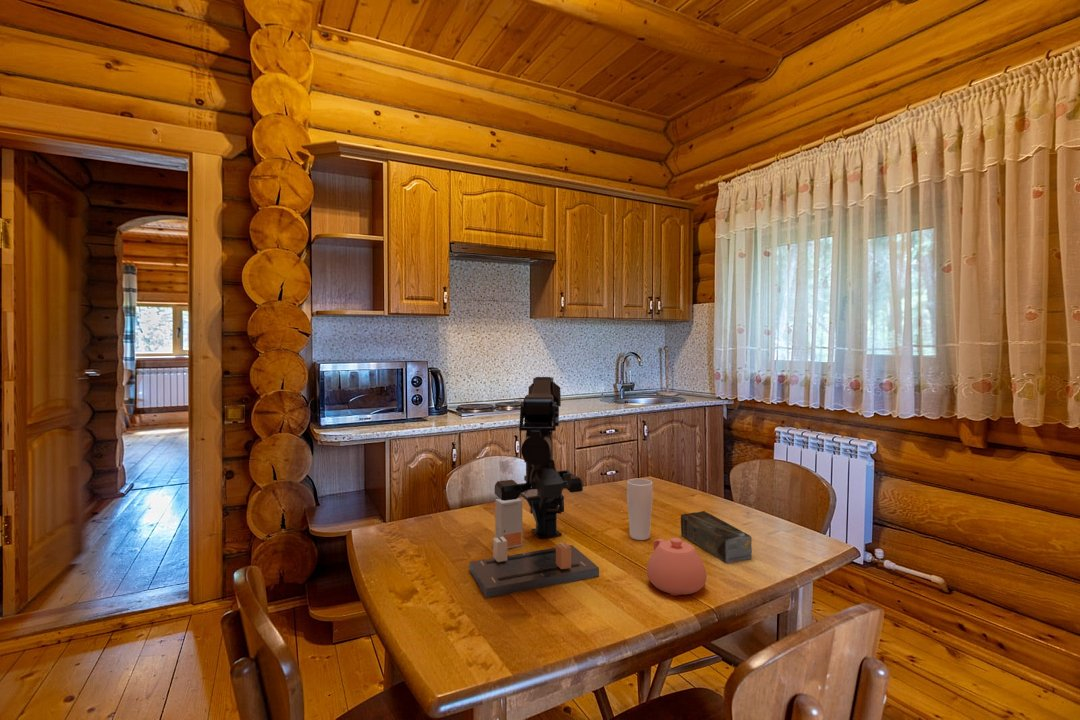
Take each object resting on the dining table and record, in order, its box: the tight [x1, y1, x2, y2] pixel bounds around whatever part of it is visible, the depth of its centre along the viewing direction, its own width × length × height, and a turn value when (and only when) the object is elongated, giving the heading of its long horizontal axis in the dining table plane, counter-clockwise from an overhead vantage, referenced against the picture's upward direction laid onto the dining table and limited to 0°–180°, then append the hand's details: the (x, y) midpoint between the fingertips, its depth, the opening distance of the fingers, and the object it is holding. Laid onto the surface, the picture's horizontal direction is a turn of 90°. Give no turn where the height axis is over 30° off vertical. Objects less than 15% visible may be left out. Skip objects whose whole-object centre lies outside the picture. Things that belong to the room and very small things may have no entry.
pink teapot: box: [646, 537, 707, 597], centre depth 112 cm, size 12×14×10 cm
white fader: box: [492, 537, 508, 562], centre depth 120 cm, size 3×2×5 cm
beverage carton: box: [680, 510, 753, 564], centre depth 133 cm, size 8×19×7 cm, turn 18°
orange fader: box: [555, 542, 571, 569], centre depth 116 cm, size 3×2×5 cm
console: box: [468, 544, 600, 599], centre depth 118 cm, size 14×26×2 cm, turn 112°
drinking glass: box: [626, 478, 654, 541], centre depth 139 cm, size 7×7×15 cm
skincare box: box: [494, 497, 523, 550], centre depth 134 cm, size 6×4×12 cm
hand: (539, 525), depth 114 cm, fingers closed
